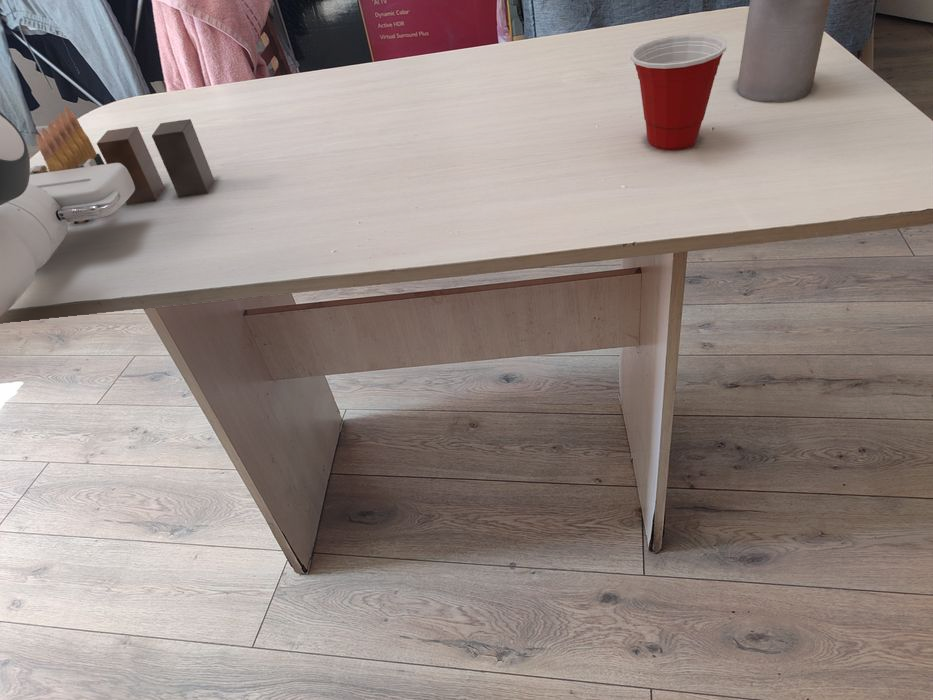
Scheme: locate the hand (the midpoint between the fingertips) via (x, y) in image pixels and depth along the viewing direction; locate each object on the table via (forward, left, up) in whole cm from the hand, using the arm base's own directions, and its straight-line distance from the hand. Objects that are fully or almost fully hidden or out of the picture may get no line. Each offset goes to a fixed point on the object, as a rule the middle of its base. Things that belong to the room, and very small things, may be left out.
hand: (67, 167), depth 86 cm
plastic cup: (+76, -3, -7) cm, 77 cm away
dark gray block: (+14, +2, -7) cm, 16 cm away
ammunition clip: (0, +2, -7) cm, 7 cm away
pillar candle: (+94, +9, -7) cm, 95 cm away
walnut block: (+7, +2, -7) cm, 10 cm away
